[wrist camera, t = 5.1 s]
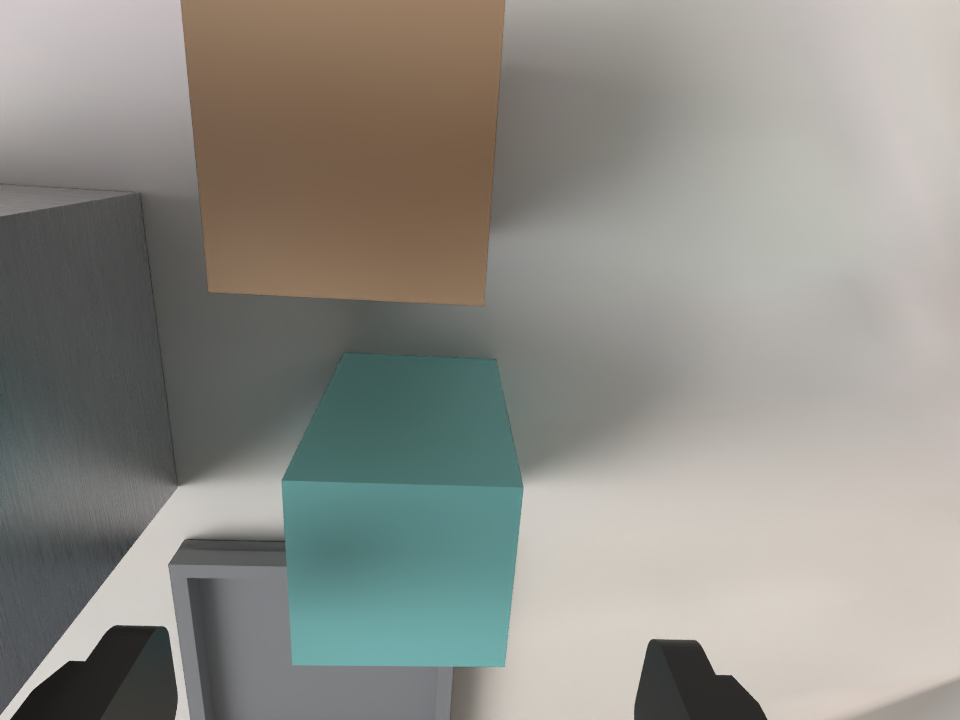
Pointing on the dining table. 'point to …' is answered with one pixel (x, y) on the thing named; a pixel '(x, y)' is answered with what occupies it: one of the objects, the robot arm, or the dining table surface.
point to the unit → (73, 409)
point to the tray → (275, 648)
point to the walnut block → (345, 145)
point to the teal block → (403, 516)
